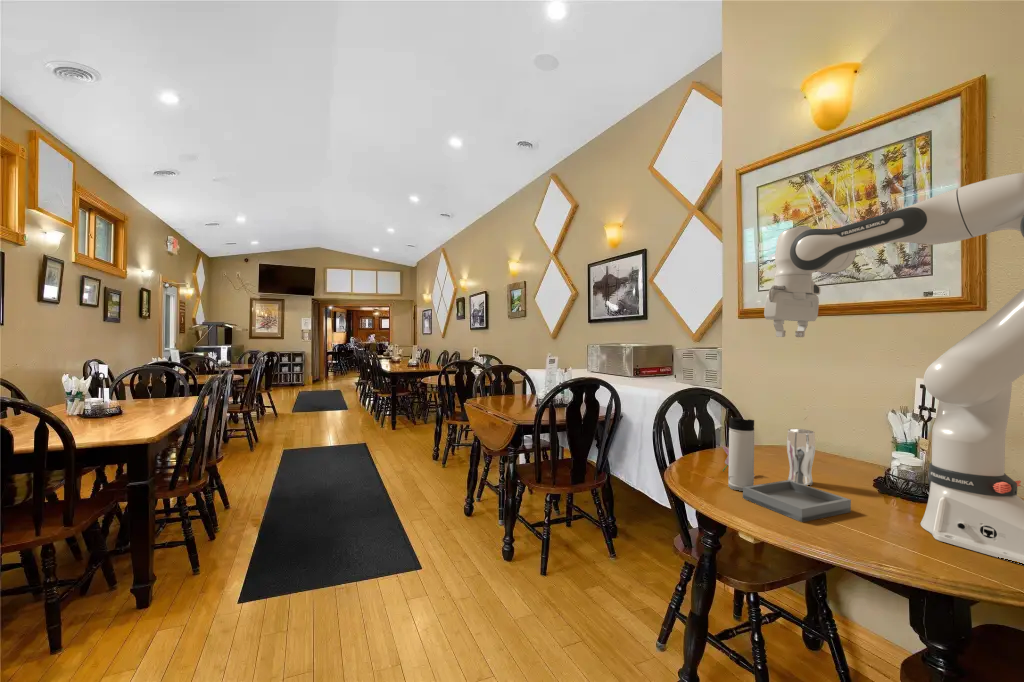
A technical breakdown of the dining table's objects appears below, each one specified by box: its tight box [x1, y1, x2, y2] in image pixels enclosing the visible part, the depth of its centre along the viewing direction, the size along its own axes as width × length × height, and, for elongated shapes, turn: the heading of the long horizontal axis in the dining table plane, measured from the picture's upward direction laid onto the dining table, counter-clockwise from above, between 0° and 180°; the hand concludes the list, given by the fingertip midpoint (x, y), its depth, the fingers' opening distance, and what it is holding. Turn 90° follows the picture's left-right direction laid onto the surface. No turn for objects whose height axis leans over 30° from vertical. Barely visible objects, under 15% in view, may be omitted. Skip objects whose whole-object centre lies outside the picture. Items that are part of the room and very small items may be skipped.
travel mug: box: [727, 416, 755, 492], centre depth 126 cm, size 6×7×20 cm
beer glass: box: [786, 428, 816, 486], centre depth 132 cm, size 7×7×15 cm
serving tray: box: [742, 479, 852, 523], centre depth 114 cm, size 16×17×3 cm
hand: (790, 337), depth 126 cm, fingers open, 8 cm apart
